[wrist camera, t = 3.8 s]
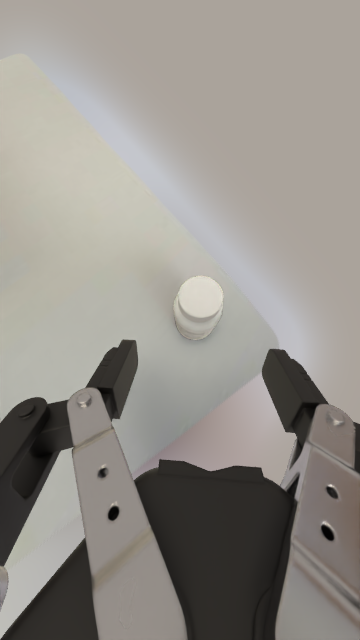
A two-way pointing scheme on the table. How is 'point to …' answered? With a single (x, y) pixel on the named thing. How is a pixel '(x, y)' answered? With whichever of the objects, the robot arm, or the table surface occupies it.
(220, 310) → the pill bottle
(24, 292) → the table surface
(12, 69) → the table surface
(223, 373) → the table surface
